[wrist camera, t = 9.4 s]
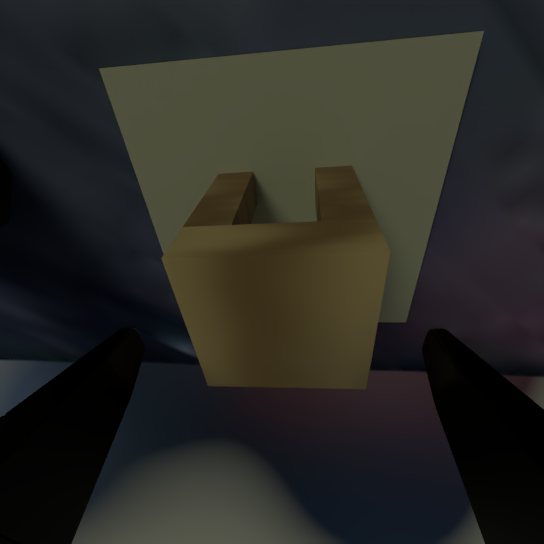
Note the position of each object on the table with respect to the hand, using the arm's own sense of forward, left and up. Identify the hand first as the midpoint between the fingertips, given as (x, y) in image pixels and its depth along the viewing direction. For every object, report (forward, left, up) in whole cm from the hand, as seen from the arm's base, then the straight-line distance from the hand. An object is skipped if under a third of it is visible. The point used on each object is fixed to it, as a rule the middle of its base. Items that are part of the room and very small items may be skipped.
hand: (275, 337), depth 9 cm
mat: (0, 0, -8) cm, 8 cm away
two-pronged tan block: (0, 0, -7) cm, 7 cm away
